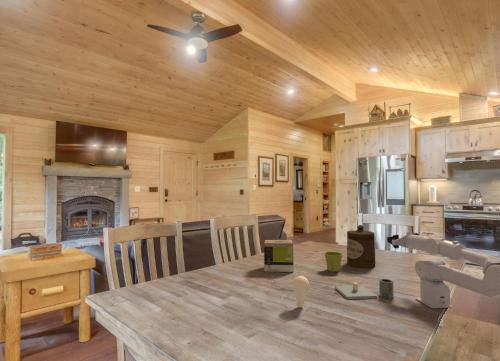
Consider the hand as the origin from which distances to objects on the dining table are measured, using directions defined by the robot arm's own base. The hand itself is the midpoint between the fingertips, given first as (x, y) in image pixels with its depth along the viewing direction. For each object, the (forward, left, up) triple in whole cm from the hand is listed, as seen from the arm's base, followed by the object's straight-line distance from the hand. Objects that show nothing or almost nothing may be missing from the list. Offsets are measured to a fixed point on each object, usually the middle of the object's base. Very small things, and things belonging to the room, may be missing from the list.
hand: (395, 238), depth 130 cm
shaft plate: (-8, +22, -20) cm, 31 cm away
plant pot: (+25, +18, -21) cm, 38 cm away
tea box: (+29, +46, -21) cm, 59 cm away
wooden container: (+35, -2, -21) cm, 41 cm away
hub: (-12, +11, -20) cm, 26 cm away
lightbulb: (-20, +48, -21) cm, 56 cm away
